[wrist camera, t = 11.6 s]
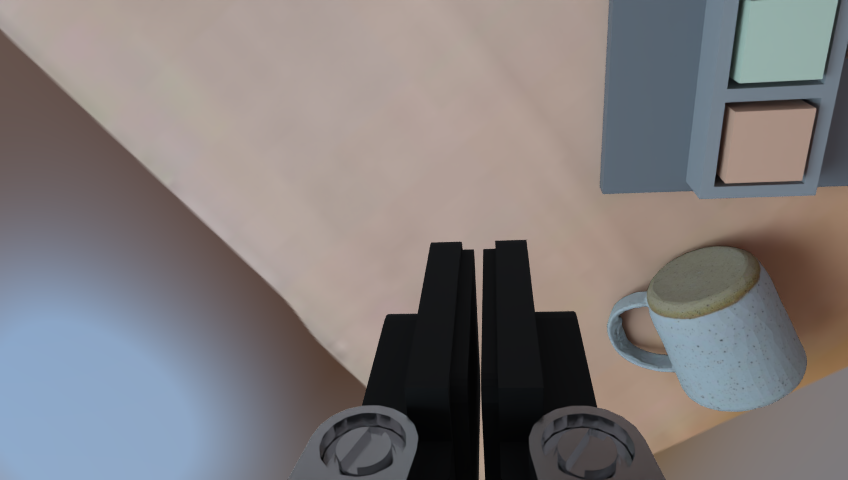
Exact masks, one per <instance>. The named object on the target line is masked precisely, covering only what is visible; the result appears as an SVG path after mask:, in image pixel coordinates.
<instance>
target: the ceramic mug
mask: <svg viewBox="0 0 848 480" xmlns="http://www.w3.org/2000/svg"><path fill="white" fill-rule="evenodd" d="M643 306H645V307H648V308H649V312H650V316H651V318H652V321H653V324H654V326H655V328H656V330H657V332H658V334H659V336H660V338H661V340H662V342H663V344H664V346H665V349H666V351H667V354H668V355H665V354H656V353H651V352H648V351H645V350H642V349H640V348H638V347H637V346H634V345H633V344H632V343H631V342H630V341H629V340H628V339H627V337H626V335H625V332H624V330H623V327H622V318H621V317H620V316H619V315H620V314H621V313H623V312H624V311H627V310H630V309H633V308H639V307H643ZM607 329H608V330H607V331H608V336H609V338H610V341H611V343H612V345H613V347H614V348H615V350H616V351H617V352H618V353H619V354H620V355H621V356H622V357H623V358H625V359H626V360H628V361H629V362H631V363H633V364H635V365H638V366H641V367H643V368H646V369H651V370H655V371H661V372H676V375H677V377H678V379H679V381H680V384H681V386H682V388H683V390H684V391H685V392H686V394H687V395H688V397H690V398H691V399H692V400H693V401H695V402H697V403H698V404H700V405H701V406H704V407H707V408H710V409H715V410H719V411H734V412H739V411H747V410H753V409H756V408H761V407H764V406H767V405H769V404H772V403H774V402H776V401H778V400H780V399H781V398H783V397H785V396H786V395H788V394H789V393H790V392H792V391H793V390H794V389H795V388H796V387H797V386H798V384H799V383H800V381H801V380H802V378H803V376H804V374H805V371H806V365H807V358H806V353H805V350H804V348H803V346H802V344H801V342H800V340H799V338H798V336H797V334H796V332H795V329H794V327H793V325H792V323H791V321H790V318H789V316H788V314H787V312H786V310H785V308H784V306H783V304H782V302H781V300H780V298H779V296H778V293H777V291H776V289H775V286H774V284H773V282H772V280H771V278H770V276H769V274H768V273H767V271H766V270H765V269H764V267H763V266H762V264H761V263H760V262H759V261H758V259H757V258H756V257H755V256H753V255H752V254H751V253H749V252H748V251H746V250H742V249H739V248H735V247H728V246H714V247H706V248H702V249H698V250H695V251H691V252H689V253H686V254H684V255H682V256H680V257H678V258H676V259H674V260H672V261H671V262H669V263H668V264H666V265H665V266H664V267H663V268H662V269H661V270H659V272H658V273H657V274H656V275H655V276H654V277H653V279H652V281H651V282H650V285H649V288H648V290H647V291H645V292H636V293H633V294H630V295H628V296H626V297H624V298H622V299H621V300H619V301H618V302H617V303H616V304H615V305H614V307H613V309H612V312H611V314H610V317H609V320H608V324H607Z"/></svg>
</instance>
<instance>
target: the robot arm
mask: <svg viewBox="0 0 848 480" xmlns="http://www.w3.org/2000/svg"><path fill="white" fill-rule="evenodd" d="M495 245H496V249H483V300H482V357H481V399H482V422H483V443H484V464H485V480H666V479H665V477H664V475H663V474H662V471H661V470H660V468H659V466H658V464H657V462H656V460H655V458H654V456H653V454H652V452H651V450H650V448H649V446H648V444H647V442H646V440H645V439H644V437H643V436H642V435H641V433H640V432H639V431H638V429H637V428H636V427H635V426H634V425H633V424H631V423H630V422H629V421H627V420H626V419H625V418H623V417H622V416H620V415H617V414H615V413H613V412H611V411H608V410H606V409H601V408H597V405H596V400H595V396H594V391H593V387H592V382H591V378H590V373H589V369H588V364H587V360H586V355H585V351H584V346H583V342H582V337H581V333H580V328H579V324H578V319H577V316H576V313H575V312H574V311H563V312H535V309H534V301H533V292H532V284H531V275H530V267H529V258H528V250H527V242H526V240H507V241H495ZM479 434H480V363H479V342H478V322H477V301H476V280H475V259H474V249H473V250H463V249H462V242H437V243H431V245H430V250H429V255H428V261H427V266H426V272H425V277H424V282H423V288H422V293H421V299H420V304H419V310H418V314H388V315H386V318H385V321H384V324H383V328H382V332H381V336H380V339H379V343H378V347H377V351H376V355H375V358H374V362H373V366H372V370H371V374H370V377H369V381H368V385H367V389H366V393H365V396H364V400H363V404H362V406H359V407H354V408H350V409H347V410H345V411H342V412H340V413H337V414H335V415H333V416H332V417H330V418H329V419H328V420H326V421H325V422H324V423H322V424H321V425H320V426H319V428H318V429H317V430H316V431H315V432H314V434H313V435H312V436H311V438H310V440H309V442H308V444H307V446H306V447H305V449H304V451H303V453H302V455H301V456H300V459H299V460H298V462H297V464H296V466H295V468H294V469H293V471H292V473H291V475H290V476H289V478H288V480H479Z"/></svg>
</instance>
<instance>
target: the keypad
mask: <svg viewBox="0 0 848 480" xmlns="http://www.w3.org/2000/svg"><path fill="white" fill-rule="evenodd" d="M738 5H739V0H609V16H608V35H607V55H606V75H605V94H604V114H603V134H602V153H601V173H600V188H601V191H602V193H603V194H615V193H645V192H675V191H694V192H695V194H696V195H697V196H698V198H699V199H713V198H745V197H776V196H807V195H816V190H817V187H825V186H848V0H838V3H837V8H836V13H835V18H834V23H833V28H832V33H831V38H830V43H829V48H828V53H827V58H826V63H825V68H824V73H823V78H822V79H815V80H796V81H776V82H757V83H738V82H737V81H735V80H733V79H732V78H730V77H729V72H730V64H731V57H732V49H733V42H734V35H735V27H736V20H737V13H738ZM789 99H801V100H803V101H804V102H806V103H808V104H810V105H811V106H813V107H815V108H816V113H815V118H814V123H813V128H812V133H811V138H810V144H809V149H808V154H807V159H806V164H805V169H804V174H803V179H802V181H779V182H750V183H724V181H723V180H722V179H721V178H720V177H719V176H718V175H717V174H716V168H717V160H718V153H719V146H720V138H721V131H722V123H723V116H724V109H725V103H727V102H747V101H768V100H789Z"/></svg>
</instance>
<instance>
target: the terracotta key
mask: <svg viewBox="0 0 848 480" xmlns="http://www.w3.org/2000/svg"><path fill="white" fill-rule="evenodd" d="M815 113H816V108H815V107H813V106H811V105H810V104H808V103H806V102H804V101H803V100H801V99H789V100H768V101H747V102H727V103H725V109H724V116H723V123H722V131H721V138H720V146H719V153H718V160H717V168H716V174H717V175H718V176H719V177H720V178H721V179H722V180H723V181H724V183H750V182H779V181H802V179H803V174H804V169H805V164H806V159H807V154H808V149H809V144H810V138H811V133H812V128H813V123H814V118H815Z"/></svg>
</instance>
